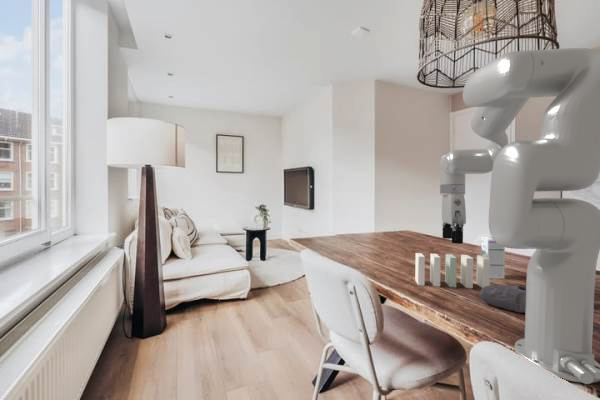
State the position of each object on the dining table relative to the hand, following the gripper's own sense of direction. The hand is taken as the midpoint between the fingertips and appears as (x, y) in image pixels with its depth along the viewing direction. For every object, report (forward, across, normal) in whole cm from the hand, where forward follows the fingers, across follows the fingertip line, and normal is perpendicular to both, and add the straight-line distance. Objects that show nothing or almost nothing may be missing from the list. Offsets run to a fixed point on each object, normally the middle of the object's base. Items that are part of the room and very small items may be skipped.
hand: (452, 240), depth 95 cm
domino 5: (+15, +1, -10) cm, 18 cm away
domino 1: (+15, +1, +10) cm, 18 cm away
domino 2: (+15, +1, +5) cm, 16 cm away
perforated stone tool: (+16, -17, -10) cm, 25 cm away
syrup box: (+15, +13, -18) cm, 27 cm away
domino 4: (+15, +1, -5) cm, 16 cm away
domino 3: (+15, +1, 0) cm, 15 cm away
